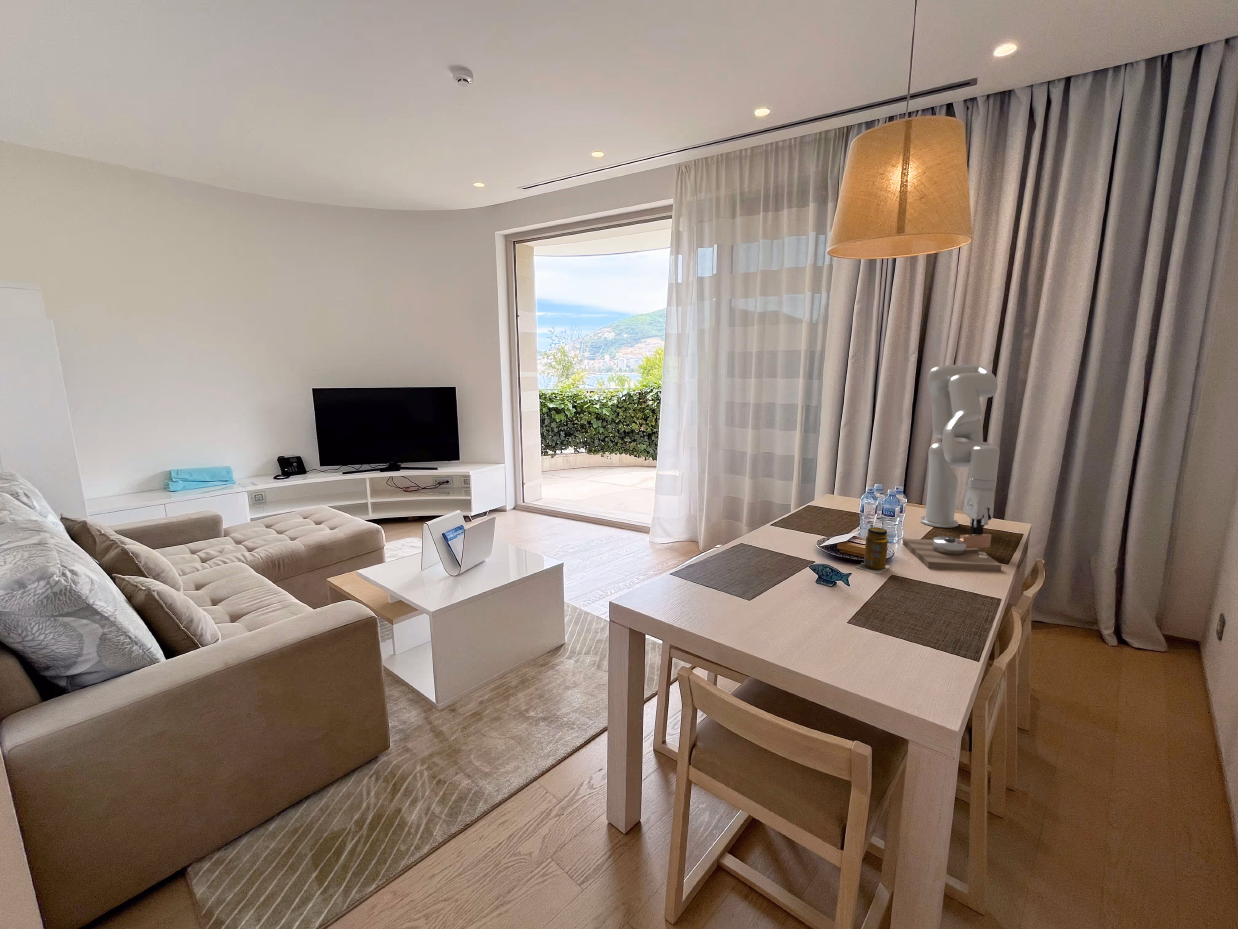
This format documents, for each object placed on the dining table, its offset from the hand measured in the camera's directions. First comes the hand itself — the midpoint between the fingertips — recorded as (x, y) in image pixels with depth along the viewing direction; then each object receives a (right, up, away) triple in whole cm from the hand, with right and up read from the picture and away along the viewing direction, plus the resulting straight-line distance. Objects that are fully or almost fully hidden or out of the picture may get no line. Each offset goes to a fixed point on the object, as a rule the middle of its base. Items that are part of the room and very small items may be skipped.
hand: (975, 538), depth 175 cm
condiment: (-40, -8, -12) cm, 42 cm away
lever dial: (-7, -3, -5) cm, 9 cm away
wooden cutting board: (-12, -5, -5) cm, 14 cm away
